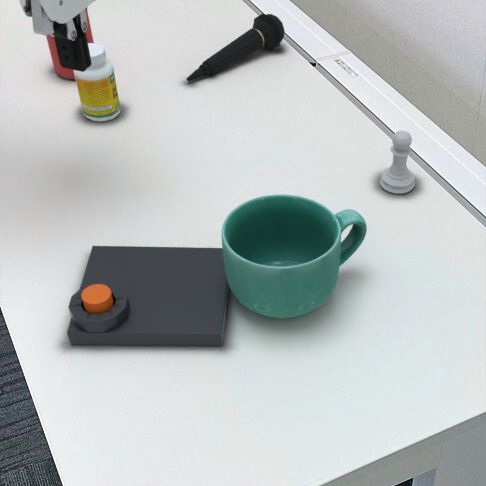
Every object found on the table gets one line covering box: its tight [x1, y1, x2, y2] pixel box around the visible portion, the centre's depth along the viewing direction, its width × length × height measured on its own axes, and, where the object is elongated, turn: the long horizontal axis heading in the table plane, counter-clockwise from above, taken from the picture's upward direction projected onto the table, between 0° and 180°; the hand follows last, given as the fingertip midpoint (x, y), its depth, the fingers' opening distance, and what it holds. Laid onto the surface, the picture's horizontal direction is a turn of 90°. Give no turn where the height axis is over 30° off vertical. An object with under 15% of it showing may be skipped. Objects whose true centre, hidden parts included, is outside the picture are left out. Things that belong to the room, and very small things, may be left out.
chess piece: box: [379, 130, 416, 195], centre depth 101 cm, size 5×5×8 cm
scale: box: [66, 245, 230, 347], centre depth 85 cm, size 16×14×4 cm
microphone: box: [186, 13, 286, 83], centre depth 123 cm, size 6×6×20 cm
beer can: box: [45, 10, 95, 80], centre depth 115 cm, size 7×7×12 cm
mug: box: [221, 193, 368, 319], centre depth 85 cm, size 17×13×10 cm
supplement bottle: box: [74, 42, 122, 122], centre depth 109 cm, size 5×5×10 cm
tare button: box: [81, 284, 114, 314], centre depth 81 cm, size 3×3×2 cm
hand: (76, 66), depth 90 cm, fingers closed
